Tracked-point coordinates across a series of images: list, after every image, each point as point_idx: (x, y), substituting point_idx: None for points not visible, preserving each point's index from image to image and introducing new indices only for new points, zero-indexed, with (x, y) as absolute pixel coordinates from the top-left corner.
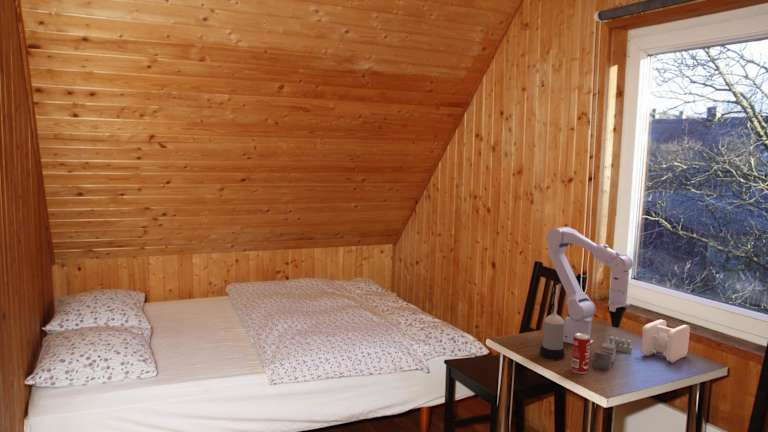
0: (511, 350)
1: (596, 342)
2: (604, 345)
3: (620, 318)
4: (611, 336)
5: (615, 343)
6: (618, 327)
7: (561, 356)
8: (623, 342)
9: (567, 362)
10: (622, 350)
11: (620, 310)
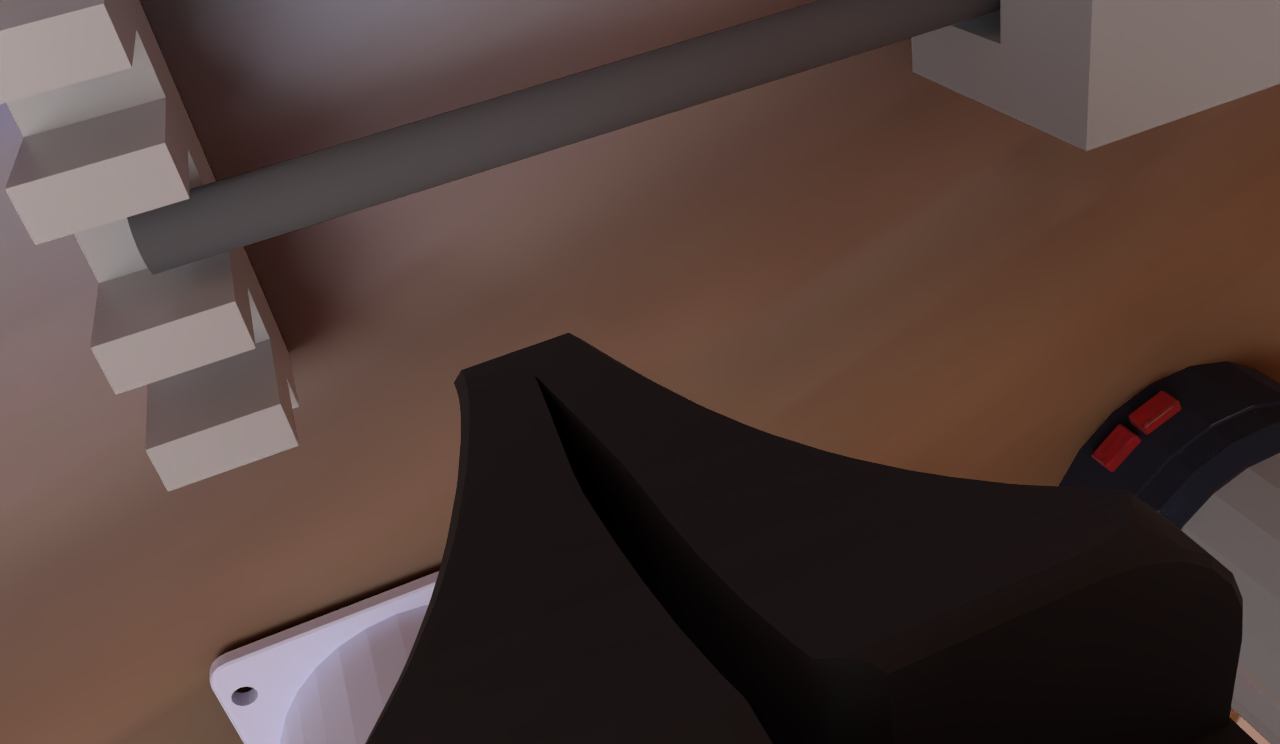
0: (1237, 721)
1: (165, 625)
2: (1251, 40)
3: (779, 440)
4: (176, 479)
5: (240, 280)
6: (526, 348)
7: (1248, 380)
8: (173, 137)
9: (1272, 262)
10: (170, 90)
11: (1215, 660)
